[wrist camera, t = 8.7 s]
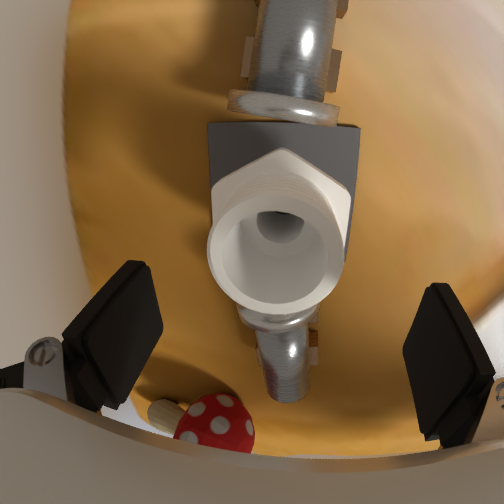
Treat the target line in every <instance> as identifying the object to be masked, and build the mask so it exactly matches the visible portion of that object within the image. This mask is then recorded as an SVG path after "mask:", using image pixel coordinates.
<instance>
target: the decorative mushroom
mask: <svg viewBox="0 0 504 504" xmlns="http://www.w3.org/2000/svg"><path fill="white" fill-rule="evenodd" d="M147 413H148V419H149V421H150V424H151V425H152V426H154V427H155V428H156V429H158V430H160V431H163V432H166V433H169V434H172V435H174V436H173V439H177V440H181V441H185V442H190V443H194V444H199V445H203V446H208V447H213V448H218V449H224V450H229V451H236V452H242V453H249V454H251V451H252V448H253V445H254V439H255V431H254V426H253V422H252V418H251V416H250V414H249V413H248V411H247V410H246V409H245V407H244V406H243V405H242V403H241V402H240V401H239V400H238V399H237V398H235V397H234V396H231V395H228V394H225V393H215V394H210V395H206V396H203V397H202V398H200V399H199V400H197V401H196V402H195V403H193V404H192V405H190V407H189V408H188V409H187V411H185V410H184V409H182V408H181V407H180V406H178V405H177V404H176V403H174V402H171V401H169V400H166V399H161V400H157V401H155V402H153V403H152V404H151V405H150V406H149V408H148V411H147Z"/></svg>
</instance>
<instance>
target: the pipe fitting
mask: <svg viewBox="0 0 504 504" xmlns="http://www.w3.org/2000/svg"><path fill="white" fill-rule="evenodd" d="M211 198H212V217H213V226H212V227H211V230H210V233H209V236H208V241H207V259H208V263H209V267H210V270H211V272H212V275H213V277H214V279H215V280H216V282H217V284H218V285H219V286H220V287H221V289H222V290H223V291H224V292H225V293H226V294H227V295H228V296H229V297H230V298H231V299H233V300H234V301H236V302H237V303H239V304H240V305H242V306H244V307H246V308H248V309H251V310H254V311H257V312H261V313H267V314H289V313H295V312H299V311H302V310H305V309H307V308H310V307H312V306H313V305H315V304H317V303H319V302H320V301H321V300H323V299H324V298H325V297H326V296H327V295H328V294H329V293H330V292H331V291H332V290H333V288H334V287H335V286H336V284H337V282H338V280H339V278H340V276H341V273H342V270H343V266H344V247H345V240H346V233H347V226H348V219H349V211H350V203H351V197H350V194H349V192H348V191H347V189H346V188H345V187H344V186H343V185H342V184H341V183H339V182H338V181H336V180H335V179H333V178H332V177H330V176H329V175H328V174H326V173H325V172H323V171H322V170H320V169H319V168H317V167H316V166H314V165H313V164H311V163H309V162H308V161H306V160H305V159H303V158H302V157H300V156H299V155H297V154H295V153H294V152H292V151H291V150H289V149H287V148H278V149H276V150H274V151H272V152H270V153H268V154H266V155H264V156H262V157H260V158H258V159H256V160H255V161H253V162H251V163H249V164H247V165H245V166H243V167H242V168H240V169H238V170H236V171H234V172H232V173H231V174H229V175H227V176H225V177H223V178H222V179H220V180H219V181H218V182H217V183H216V184H215V185H214V186H213V188H212V191H211ZM274 211H280V212H286V213H290V214H286V215H285V214H278V213H275V212H274Z"/></svg>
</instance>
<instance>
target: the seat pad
mask: <svg viewBox="0 0 504 504" xmlns="http://www.w3.org/2000/svg"><path fill="white" fill-rule="evenodd" d="M360 130H361V129H360V128H354V127H345V126H336V127H335V128H334V127H325V126H318V125H312V124H306V123H288V122H218V123H208V146H209V165H210V183H211V191H212V188H213V186H214V185H215V184H216V183H217V182H218V181H219V180H220V179H222V178H223V177H225V176H227V175H229V174H231V173H232V172H234V171H236V170H238V169H240V168H242V167H243V166H245V165H247V164H249V163H251V162H253V161H255V160H256V159H258V158H260V157H262V156H264V155H266V154H268V153H270V152H272V151H274V150H276V149H278V148H287V149H289V150H291V151H292V152H294V153H295V154H297V155H299V156H300V157H302V158H303V159H305V160H306V161H308V162H309V163H311V164H313V165H314V166H316V167H317V168H319V169H320V170H322V171H323V172H325V173H326V174H328V175H329V176H330V177H332V178H333V179H335V180H336V181H338V182H339V183H341V184H342V185H343V186H344V187H345V188H346V189H347V191H348V192H349V194H350V197H351V203H350V211H349V219H348V226H347V233H346V240H345V247H344V262H345V259H346V253H347V247H348V241H349V234H350V227H351V220H352V213H353V205H354V197H355V188H356V179H357V168H358V157H359V145H360ZM211 199H212V198H211ZM274 212H275V213H278V214H285V215H286V214H290V213H286V212H280V211H274Z"/></svg>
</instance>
